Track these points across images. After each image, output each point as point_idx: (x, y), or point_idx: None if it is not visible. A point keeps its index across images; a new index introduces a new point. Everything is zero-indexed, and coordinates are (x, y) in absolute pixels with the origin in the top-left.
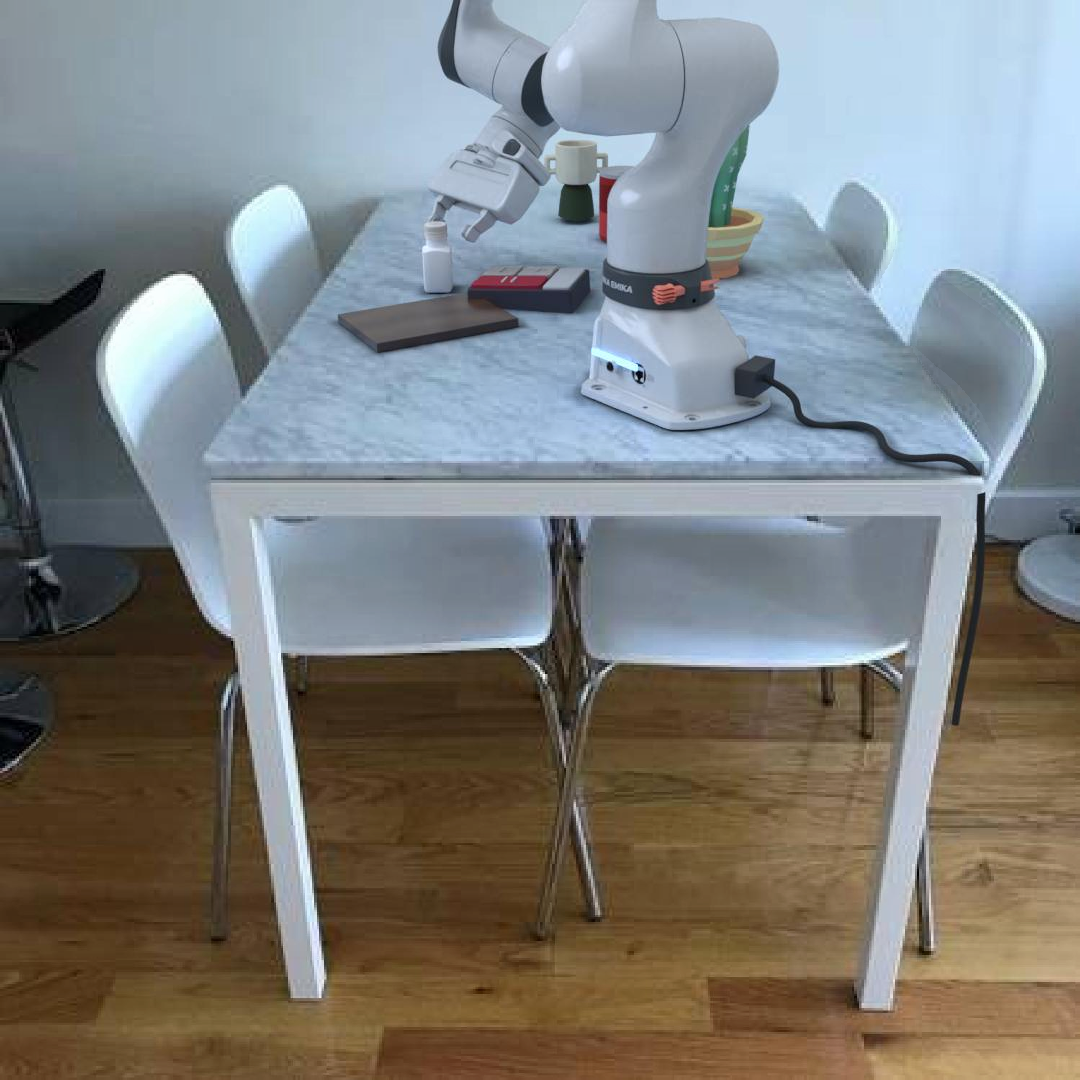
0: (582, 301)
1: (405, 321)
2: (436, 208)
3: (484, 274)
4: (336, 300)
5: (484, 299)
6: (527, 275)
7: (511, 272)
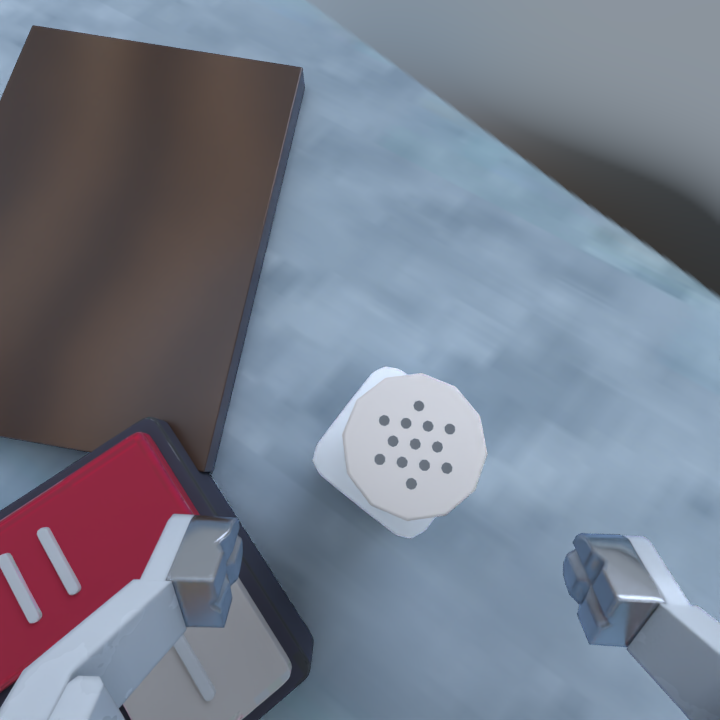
0: None
1: (116, 154)
2: (699, 642)
3: None
4: (485, 173)
5: None
6: None
7: None
